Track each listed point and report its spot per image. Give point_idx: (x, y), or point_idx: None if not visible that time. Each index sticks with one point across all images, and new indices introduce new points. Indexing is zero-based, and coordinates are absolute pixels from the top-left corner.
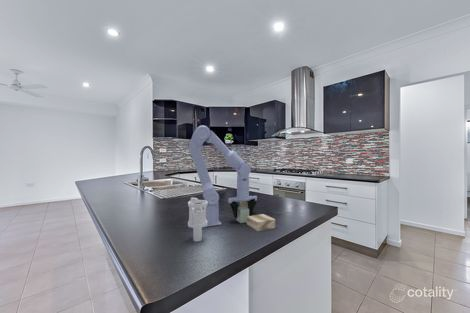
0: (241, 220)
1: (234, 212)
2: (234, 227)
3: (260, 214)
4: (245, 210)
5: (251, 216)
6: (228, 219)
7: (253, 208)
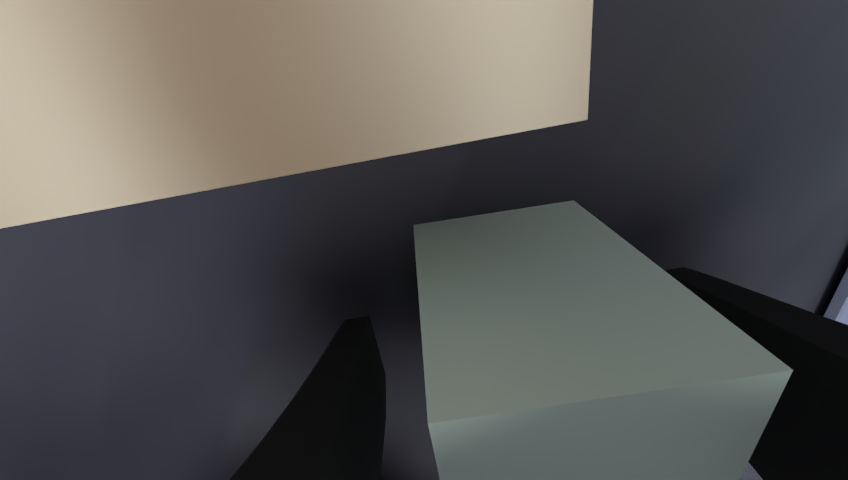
0: (577, 218)
1: None
2: (804, 3)
3: (93, 198)
4: (574, 371)
5: (452, 67)
6: None
7: (239, 469)
